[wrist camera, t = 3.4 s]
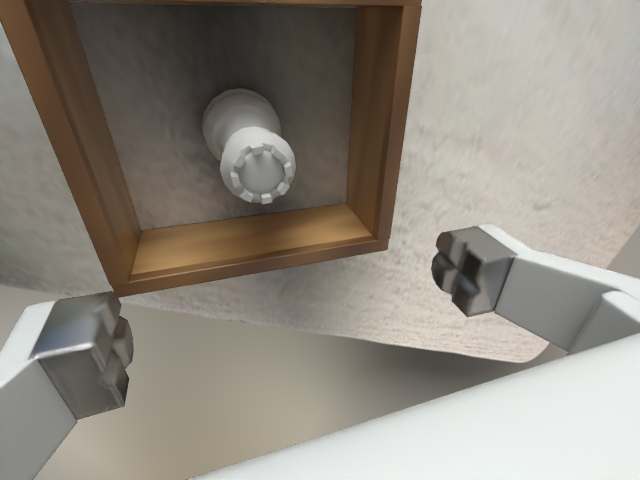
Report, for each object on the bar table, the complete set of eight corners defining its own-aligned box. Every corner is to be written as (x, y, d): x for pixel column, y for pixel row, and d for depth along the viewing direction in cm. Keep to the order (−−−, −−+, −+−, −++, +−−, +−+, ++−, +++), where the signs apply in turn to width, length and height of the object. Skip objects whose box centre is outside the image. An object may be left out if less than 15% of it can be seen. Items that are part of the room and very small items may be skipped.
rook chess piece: (241, 177, 22) (261, 242, 16) (184, 124, 20) (179, 177, 13) (292, 129, 22) (334, 176, 15) (240, 68, 19) (265, 94, 13)
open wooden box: (371, -11, 19) (426, -20, 15) (355, 211, 26) (388, 250, 22) (38, -22, 15) (-26, -39, 11) (130, 243, 22) (115, 298, 18)
